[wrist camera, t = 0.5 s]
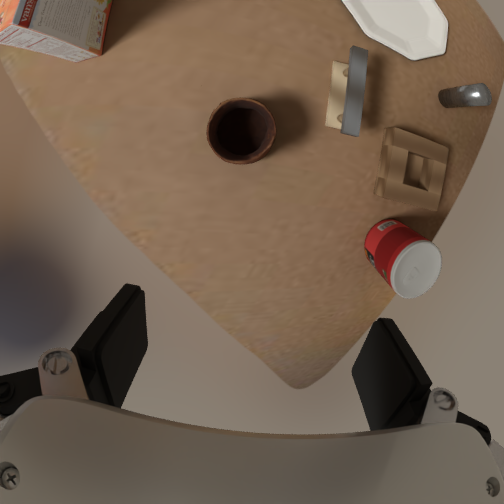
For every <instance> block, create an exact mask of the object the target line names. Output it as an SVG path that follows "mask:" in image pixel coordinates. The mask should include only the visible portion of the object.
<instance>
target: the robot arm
mask: <svg viewBox="0 0 504 504" xmlns="http://www.w3.org/2000/svg"><path fill="white" fill-rule="evenodd" d="M147 346H148V339H147V326H146V312H145V293H144V291H143V290H141V288H140V286H137V285H132V284H125V285H124V286H123V287H122V288H121V290H120V291H119V292H118V293H117V294H116V296H115V297H114V298H113V299H112V300H111V302H110V303H109V304H108V305H107V307H106V308H105V309H104V310H103V311H101V312H100V313H99V314H98V315H97V316H96V318H95V319H94V320H93V322H92V323H91V324H90V325H89V326H88V328H87V329H86V330H85V332H84V333H83V334H82V336H81V337H80V338H79V340H78V341H77V342H76V343H75V345H74V346H73V347H72V349H71V350H68V349H65V348H53V349H49V350H48V351H46V352H44V353H43V354H42V355H41V357H40V359H39V361H38V367H36V368H32V369H28V370H24V371H20V372H16V373H12V374H7V375H3V376H0V504H504V448H503V447H502V446H500V445H499V444H498V443H497V442H496V441H495V440H492V441H491V434H490V431H489V429H488V427H487V426H486V425H484V424H483V423H481V422H479V421H477V420H475V419H473V418H471V417H469V416H467V415H465V414H463V413H461V412H459V411H458V401H457V398H456V397H455V395H454V394H452V392H450V391H449V390H447V389H444V388H435V389H433V390H432V391H431V390H430V386H431V385H432V382H431V380H430V378H429V376H428V375H427V373H426V371H425V370H424V368H423V366H422V365H421V363H420V361H419V360H418V358H417V357H416V355H415V353H414V352H413V350H412V348H411V347H410V345H409V344H408V342H407V341H406V339H405V338H404V336H403V335H402V333H401V331H400V330H399V328H398V327H397V325H396V324H395V322H394V321H393V320H392V319H389V318H379V319H378V320H377V321H375V322H374V323H373V324H372V327H371V329H370V331H369V334H368V336H367V338H366V340H365V342H364V345H363V347H362V349H361V351H360V353H359V355H358V357H357V359H356V361H355V363H354V365H353V368H352V376H353V379H354V382H355V385H356V388H357V390H358V394H359V396H360V399H361V402H362V405H363V408H364V412H365V415H366V418H367V421H368V424H369V427H370V430H371V431H366V432H355V433H340V434H317V435H316V434H315V435H314V434H313V435H296V434H294V435H293V434H267V433H253V432H242V431H232V430H224V429H216V428H209V427H202V426H196V425H191V424H185V423H180V422H175V421H170V420H166V419H161V418H157V417H152V416H148V415H144V414H140V413H136V412H132V411H128V410H125V409H121V406H122V404H123V402H124V399H125V397H126V395H127V392H128V390H129V388H130V386H131V383H132V381H133V379H134V377H135V374H136V372H137V370H138V367H139V366H140V364H141V361H142V359H143V357H144V355H145V353H146V350H147Z"/></svg>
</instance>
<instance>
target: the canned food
mask: <svg viewBox="0 0 504 504" xmlns="http://www.w3.org/2000/svg"><path fill="white" fill-rule="evenodd" d="M365 253H366V256H367V259H368V260H369V261H370V263H371V264H372V265H373V266H374V267H375V269H376V270H377V271H378V272H379V273H380V274H381V276H382V277H383V278H384V279H385V280H386V282H387V283H388V284H389V285H390V286H391V288H392V289H393V290H394V291H395V292H396V293H397V294H399V295H400V296H401V297H404V298H415V297H418V296H420V295H422V294H424V293H425V292H427V291H428V290H429V289H430V288H431V287H432V285H433V284H434V283H435V281H436V280H437V278H438V276H439V274H440V271H441V266H442V256H441V253H440V251H439V249H438V248H437V246H435V244H434V243H432V242H431V241H429V240H428V239H426V238H425V237H423V236H422V235H420V234H419V233H417V232H415V231H414V230H412V229H411V228H409V227H407V226H406V225H404V224H402V223H401V222H399V221H397V220H393V219H387V220H382V221H380V222H378V223H377V224H375V225H374V226H373V227H372V228H371V229H370V231H369V232H368V234H367V236H366V239H365Z"/></svg>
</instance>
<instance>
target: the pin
mask: <svg viewBox="0 0 504 504" xmlns="http://www.w3.org/2000/svg"><path fill="white" fill-rule="evenodd" d="M491 100H492V97H491V93H490V90H489V89H488V87H487V86H486V85H485V84H483V83H479V84H472V85H466V86H460V87H454V88H448V89H443V90H441V91H440V92H439V101H440V103H441V104H442V105H443V106H444V107H445V108H454V107H466V106H485V105H490V104H491Z"/></svg>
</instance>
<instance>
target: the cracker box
mask: <svg viewBox="0 0 504 504" xmlns="http://www.w3.org/2000/svg"><path fill="white" fill-rule="evenodd" d="M112 1H113V0H0V44H2V45H7V46H12V47H17V48H22V49H26V50H31V51H35V52H39V53H43V54H47V55H51V56H54V57H58V58H61V59H64V60H68V61H71V62H75V63H76V62H79V61H83V60H86V59H90V58H93V57H97V56H101V55H102V49H103V43H104V37H105V32H106V27H107V22H108V17H109V13H110V9H111V5H112Z"/></svg>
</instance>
